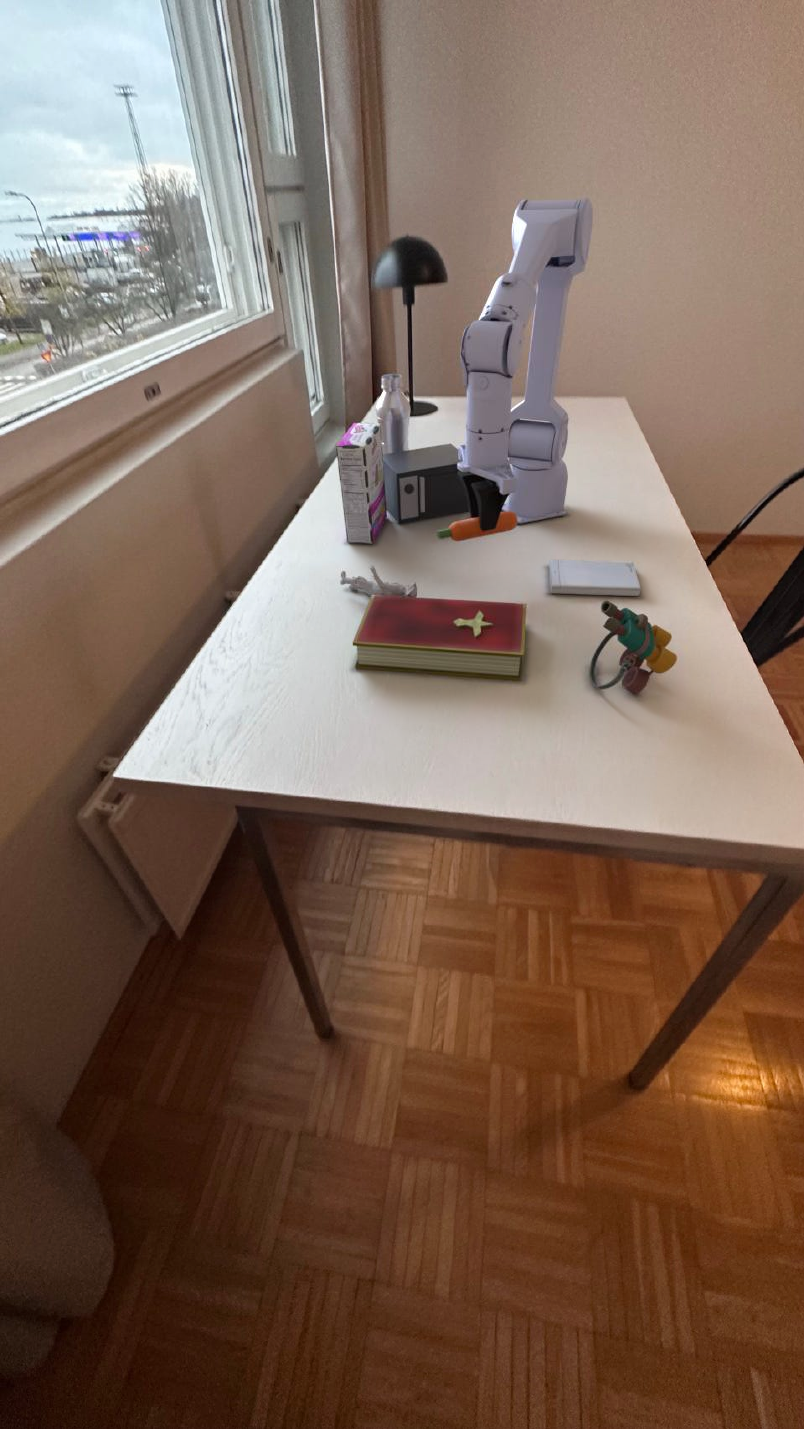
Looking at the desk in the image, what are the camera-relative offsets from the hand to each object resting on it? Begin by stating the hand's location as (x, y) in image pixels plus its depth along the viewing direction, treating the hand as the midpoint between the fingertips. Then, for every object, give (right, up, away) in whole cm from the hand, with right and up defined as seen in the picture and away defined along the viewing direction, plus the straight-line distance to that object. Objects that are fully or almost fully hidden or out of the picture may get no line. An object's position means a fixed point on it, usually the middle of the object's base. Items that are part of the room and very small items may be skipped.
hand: (483, 524), depth 92 cm
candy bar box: (-18, +5, +19) cm, 27 cm away
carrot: (0, -1, +1) cm, 2 cm away
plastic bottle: (-13, +17, +33) cm, 40 cm away
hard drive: (+17, -8, +3) cm, 19 cm away
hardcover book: (-6, -19, -8) cm, 22 cm away
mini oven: (-7, +11, +26) cm, 29 cm away
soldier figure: (-15, -11, +2) cm, 19 cm away
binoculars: (+15, -24, -15) cm, 32 cm away
